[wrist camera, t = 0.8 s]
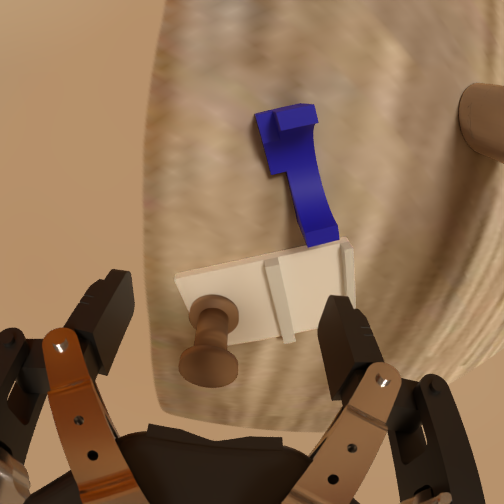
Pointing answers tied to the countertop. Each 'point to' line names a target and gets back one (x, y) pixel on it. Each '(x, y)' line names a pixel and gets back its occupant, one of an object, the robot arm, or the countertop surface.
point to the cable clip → (298, 167)
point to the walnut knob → (211, 343)
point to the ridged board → (276, 288)
